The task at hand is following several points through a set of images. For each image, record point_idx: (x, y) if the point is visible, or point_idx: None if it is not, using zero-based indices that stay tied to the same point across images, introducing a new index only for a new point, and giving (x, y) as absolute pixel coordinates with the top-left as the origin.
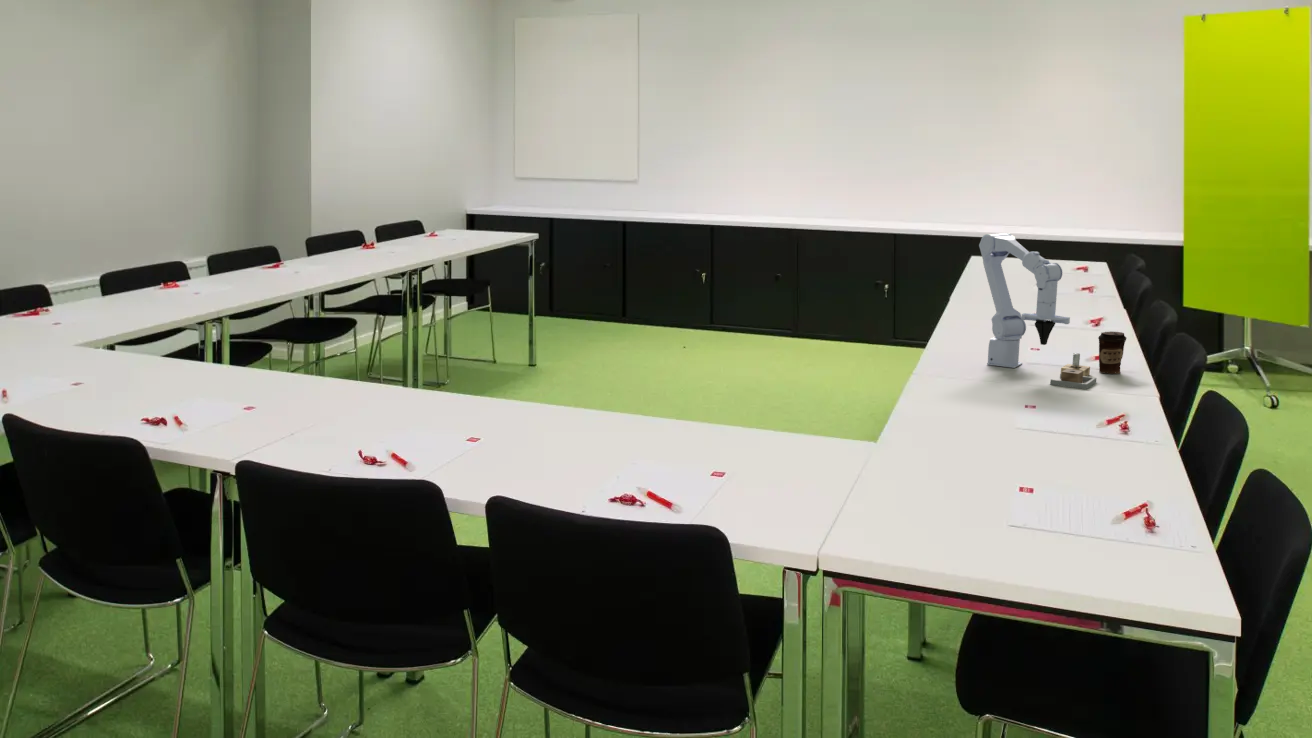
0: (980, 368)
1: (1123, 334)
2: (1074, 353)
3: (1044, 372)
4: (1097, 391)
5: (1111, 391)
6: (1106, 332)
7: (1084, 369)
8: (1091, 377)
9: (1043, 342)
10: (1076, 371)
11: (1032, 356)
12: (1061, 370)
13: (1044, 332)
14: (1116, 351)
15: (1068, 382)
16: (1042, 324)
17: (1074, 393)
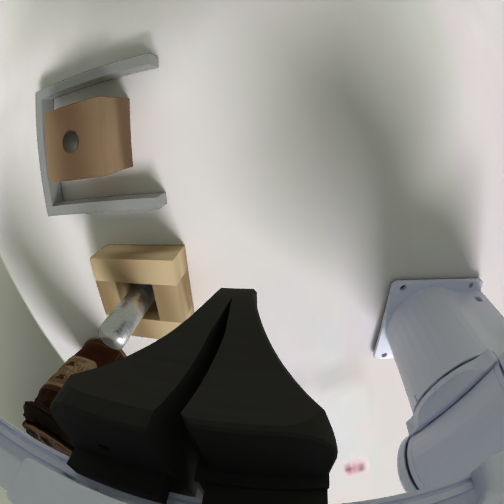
0: (494, 211)
1: (27, 431)
2: (119, 339)
3: (263, 273)
4: (24, 93)
5: (5, 126)
6: None
7: (97, 277)
8: (57, 209)
9: (225, 294)
10: (59, 152)
11: (353, 433)
12: (174, 255)
13: (187, 349)
14: (46, 382)
15: (84, 73)
16: (191, 440)
17: (63, 14)
